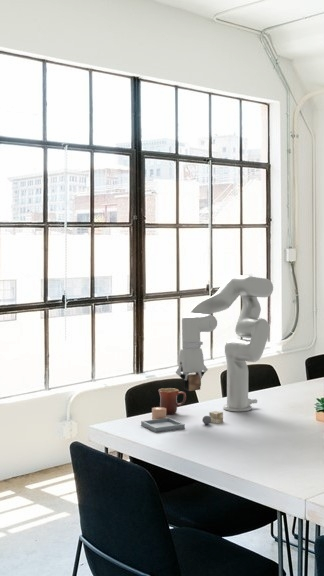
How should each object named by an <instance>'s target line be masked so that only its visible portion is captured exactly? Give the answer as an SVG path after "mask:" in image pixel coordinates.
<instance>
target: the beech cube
mask: <svg viewBox="0 0 324 576" xmlns="http://www.w3.org/2000/svg"><path fill="white" fill-rule="evenodd" d="M208 416H209V417H210V418H211V423H214V424H219V423H222V422H224V412H222V411H218V410H214V411H210V412H209V413H208Z"/></svg>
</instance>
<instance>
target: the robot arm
mask: <svg viewBox="0 0 324 576" xmlns="http://www.w3.org/2000/svg"><path fill="white" fill-rule="evenodd" d="M273 291H274V284H273V282H272V281H271V280H270V279H269V278H266V277H265V278H263V277H259V276H258V277H257V276H253V275H252V276H251V275H233V276H230V277H229V278H228V279H227V280H225V282H223V284H222V286H220V288H219V289H218V290H217V291H216V292H215V293H214V294H213V295H212V296H211V295H210V296H209V297H207V298H205V299H204V300H202V301H200V302H198V303H197V304H196V305H195V306H194V307H193V308H192V309H191V310H190V311H189V312H188V313H187V315H184V316H183V317H182V318H181V336H182V337H181V339H182V342H181V343H182V344H181V345H182V348H180V350H179V355H178V368H177V370H176V371H175V374H176V375H178V376H179V377H180V378H181V380H182V387H183V389H184V390H186V391H188V389H189V382H188V380H187V379H188V374H197V375H200V387H201V386H202V378H203V376H204V375H205V373H206V372H208V368H207V367H206V365H205V363H204V361H205V360H204V359H205V358H204V352H203V349H202V347H201V346H202V345H203V343H204V342H203V341H201V332H202V333H210V332H213V331H215V329H216V328H217V326H218V320H217V317H215V316H214V315H212V314H216V313H219V312H223V311H225V310H227V309H229V308H230V307H231V306H232V305H233V304H234V302H235V301H236V300H238V299H237V298H238V297H239V296H240V297H241V301H242V307H241V311H240V314H239V316H238V320H237V322H236V325H235V329H234V330H235V331H234V332H235V334H236V335H237V336H238V337H239V338H237V337H236V338H231V339H229V340H227V341H226V342H225V345H224V355H225V360H226V404H224V405H222V406H223V407H222V408H223V410H225V411H228V412H240V413H241V412H248V411H251V410H252V406H251V405H252V404H257V403H258V399H257V398H254V399H253V398H250V397H249V367H248V364H247V362H249V363H255V362H258V361H260V359H261V358H262V356H263V353H264V350H265V347H266V345H267V341H268V339H269V336H270V329H271V328H270V324H269V322H268V321H267V319H265V318H262V317H260V314H261V311H262V309H261V304H260V301H259V299H258V298H269V297H270V296H271V295H272V294H273Z"/></svg>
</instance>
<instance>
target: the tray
mask: <svg viewBox="0 0 324 576" xmlns="http://www.w3.org/2000/svg"><path fill="white" fill-rule="evenodd" d="M140 421H141V422H140V423H141V426H142V427H144V428H146V429H148V430H149V431H151V432H153V433H162V432H171V431H176V430H184V429H185V423H183V422H180V421H178V420H176V419H174V418H171V417H166V418H162V419H154V420H152V419H146V420H140Z"/></svg>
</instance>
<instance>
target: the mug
mask: <svg viewBox="0 0 324 576" xmlns="http://www.w3.org/2000/svg"><path fill="white" fill-rule="evenodd" d="M158 393H159V398H160V400H159V401H160V402H159V407H164V408H166V414H167V415H166V416H169V415H170V416H171V415H175V414H176V413H177V410H178V407H181V406H183V405H185V404H184V403H186V400H187V395H186V394H187V393H186V392H185V391H180V390H179V389H178V388H175V387H174V388H173V387H167V388H166V387H165V388H159V389H158ZM181 394H182V395H183V400H182V401H181V402H180V403H179V402H178V400H177V399H178V396H179V395H181Z"/></svg>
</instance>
